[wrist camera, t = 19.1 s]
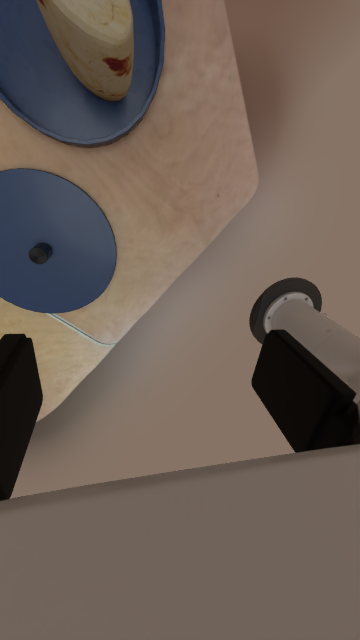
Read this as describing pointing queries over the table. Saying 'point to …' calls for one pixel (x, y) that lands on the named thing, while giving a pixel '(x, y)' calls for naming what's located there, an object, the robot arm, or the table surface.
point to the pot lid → (51, 243)
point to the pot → (74, 77)
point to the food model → (94, 42)
